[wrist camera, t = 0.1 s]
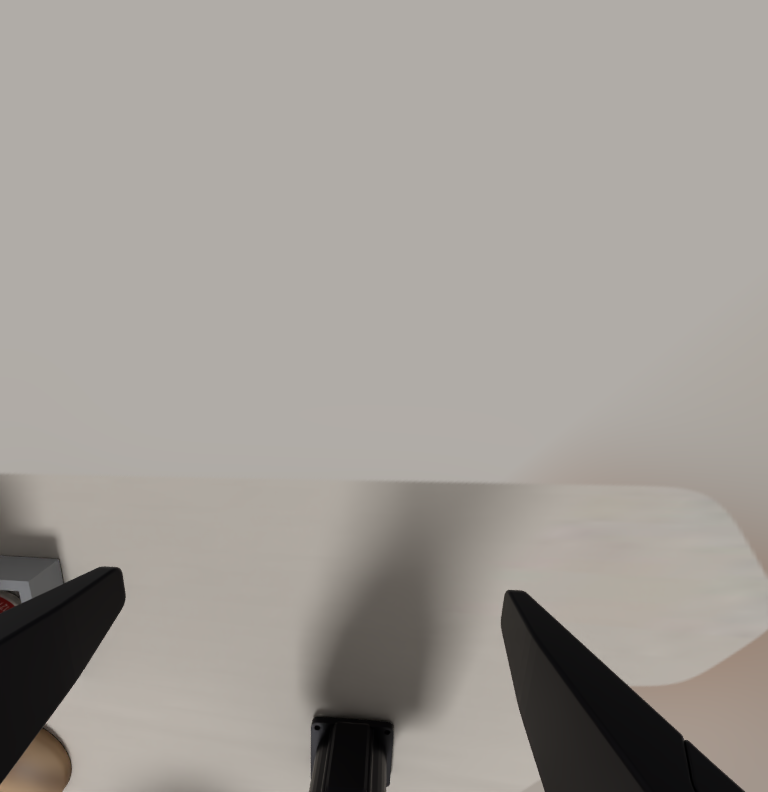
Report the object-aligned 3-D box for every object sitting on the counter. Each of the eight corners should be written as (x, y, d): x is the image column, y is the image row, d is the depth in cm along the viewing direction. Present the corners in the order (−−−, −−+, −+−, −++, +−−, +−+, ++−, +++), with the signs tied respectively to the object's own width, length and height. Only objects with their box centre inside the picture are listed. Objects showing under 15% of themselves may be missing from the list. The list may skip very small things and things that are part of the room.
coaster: (79, 804, 31) (71, 817, 31) (-32, 796, 31) (-43, 809, 31) (61, 718, 29) (52, 729, 28) (-59, 710, 29) (-71, 721, 28)
